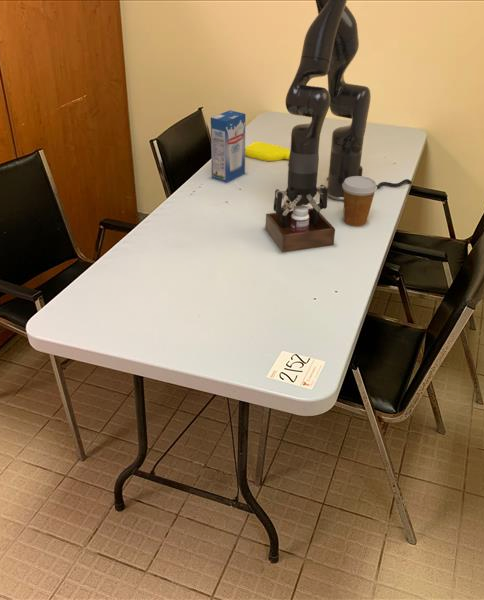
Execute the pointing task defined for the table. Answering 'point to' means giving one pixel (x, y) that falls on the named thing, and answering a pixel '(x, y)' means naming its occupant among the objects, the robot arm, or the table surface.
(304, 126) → the robot arm
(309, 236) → the wooden box
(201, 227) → the table surface
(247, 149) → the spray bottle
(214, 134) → the milk carton
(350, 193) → the disposable coffee cup
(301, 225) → the pill bottle
